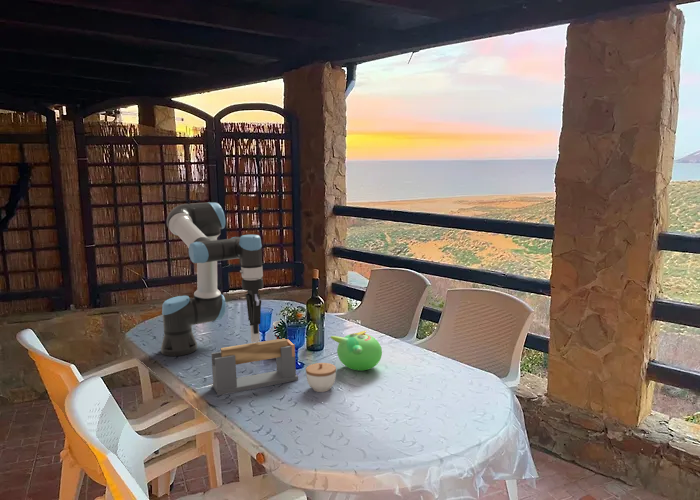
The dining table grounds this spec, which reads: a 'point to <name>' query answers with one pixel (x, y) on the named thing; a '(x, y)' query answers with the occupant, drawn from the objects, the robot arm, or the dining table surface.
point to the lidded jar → (321, 376)
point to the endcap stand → (229, 383)
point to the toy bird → (358, 351)
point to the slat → (255, 351)
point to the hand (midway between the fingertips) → (255, 341)
